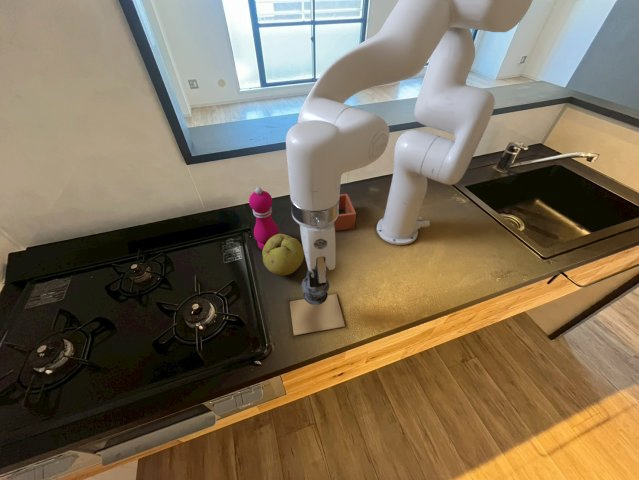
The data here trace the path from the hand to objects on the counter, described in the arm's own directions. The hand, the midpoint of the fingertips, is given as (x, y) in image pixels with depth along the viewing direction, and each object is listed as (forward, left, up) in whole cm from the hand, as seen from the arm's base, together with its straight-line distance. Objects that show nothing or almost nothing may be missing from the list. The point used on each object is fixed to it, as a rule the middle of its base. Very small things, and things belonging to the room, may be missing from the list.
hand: (315, 276), depth 57 cm
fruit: (+6, -16, -15) cm, 23 cm away
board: (0, 0, -15) cm, 15 cm away
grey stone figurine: (0, 0, -7) cm, 7 cm away
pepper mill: (+10, -26, -15) cm, 32 cm away
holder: (-12, -33, -15) cm, 38 cm away
